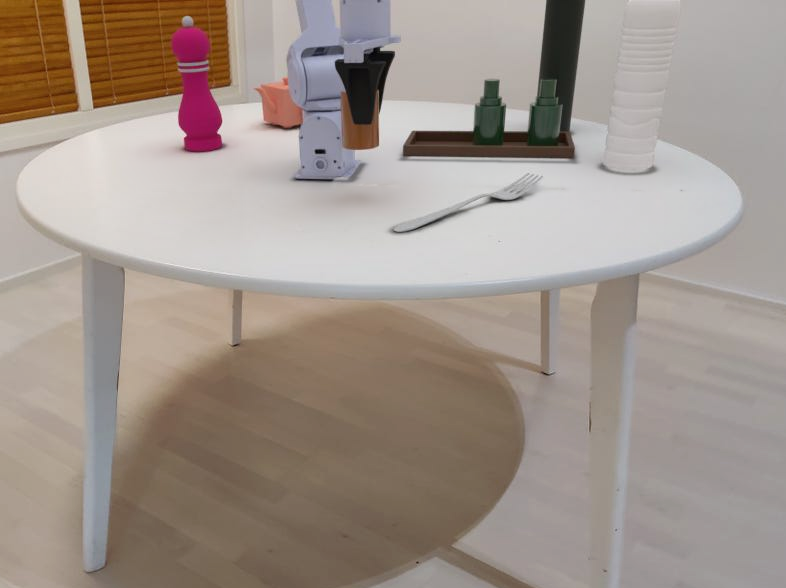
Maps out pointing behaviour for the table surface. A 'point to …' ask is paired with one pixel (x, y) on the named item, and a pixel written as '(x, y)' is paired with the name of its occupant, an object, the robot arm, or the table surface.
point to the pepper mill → (196, 89)
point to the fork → (500, 195)
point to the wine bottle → (562, 51)
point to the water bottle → (640, 83)
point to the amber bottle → (358, 127)
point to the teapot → (279, 104)
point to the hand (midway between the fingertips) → (366, 119)
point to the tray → (463, 145)
